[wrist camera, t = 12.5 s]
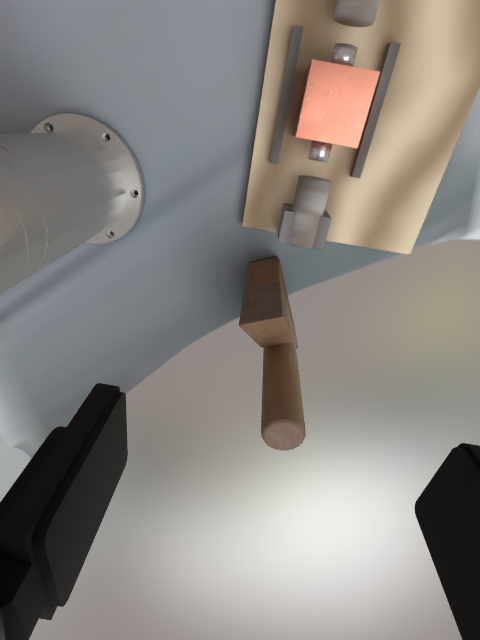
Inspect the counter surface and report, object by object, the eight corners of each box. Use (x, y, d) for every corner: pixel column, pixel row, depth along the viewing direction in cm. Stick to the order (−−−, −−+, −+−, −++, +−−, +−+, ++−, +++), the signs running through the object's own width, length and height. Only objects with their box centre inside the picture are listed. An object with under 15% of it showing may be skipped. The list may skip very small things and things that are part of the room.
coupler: (288, 153, 32) (291, 157, 28) (310, 47, 28) (317, 32, 24) (340, 162, 32) (351, 168, 28) (369, 58, 28) (388, 45, 24)
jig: (242, 223, 37) (239, 237, 32) (288, -84, 25) (292, -130, 21) (405, 250, 37) (424, 268, 32) (525, -43, 25) (580, -80, 21)
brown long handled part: (278, 255, 38) (284, 343, 23) (296, 333, 43) (311, 450, 28) (247, 262, 39) (231, 352, 23) (268, 339, 44) (267, 455, 28)
